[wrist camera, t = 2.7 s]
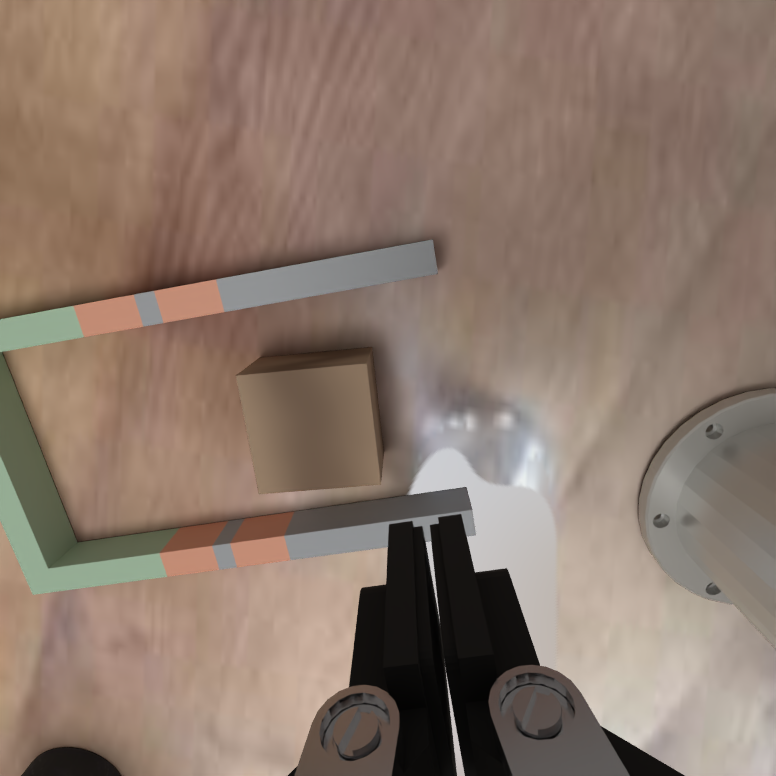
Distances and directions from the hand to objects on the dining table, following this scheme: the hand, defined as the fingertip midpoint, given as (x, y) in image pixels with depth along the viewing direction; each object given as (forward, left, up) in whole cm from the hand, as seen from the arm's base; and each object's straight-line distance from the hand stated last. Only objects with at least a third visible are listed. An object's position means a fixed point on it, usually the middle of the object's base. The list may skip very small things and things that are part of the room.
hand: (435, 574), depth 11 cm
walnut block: (+5, 0, -16) cm, 17 cm away
